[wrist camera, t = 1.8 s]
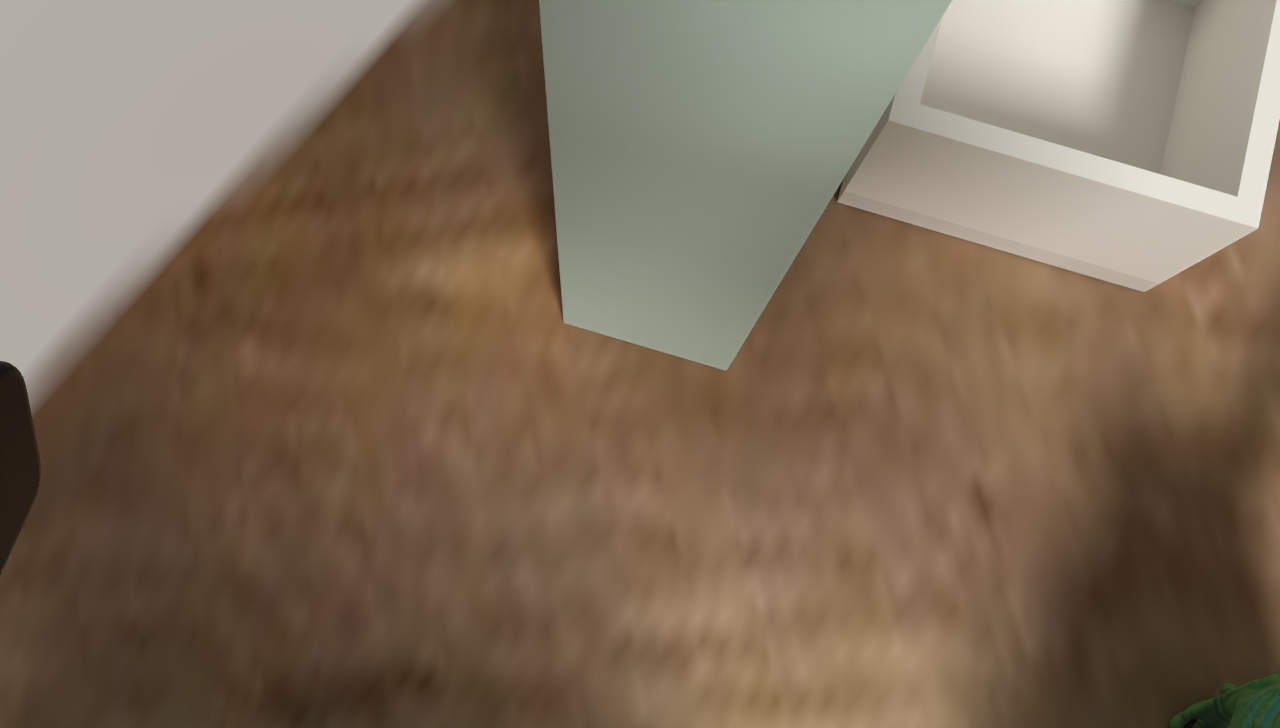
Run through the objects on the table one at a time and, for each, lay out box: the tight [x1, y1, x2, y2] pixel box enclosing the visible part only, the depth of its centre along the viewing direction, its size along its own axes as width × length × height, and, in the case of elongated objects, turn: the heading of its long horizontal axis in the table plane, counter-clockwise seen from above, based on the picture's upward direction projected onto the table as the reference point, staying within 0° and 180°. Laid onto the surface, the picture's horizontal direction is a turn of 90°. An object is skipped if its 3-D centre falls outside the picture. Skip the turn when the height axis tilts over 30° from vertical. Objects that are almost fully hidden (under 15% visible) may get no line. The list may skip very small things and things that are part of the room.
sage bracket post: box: [539, 0, 952, 371], centre depth 15 cm, size 3×3×14 cm
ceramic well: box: [837, 0, 1280, 292], centre depth 21 cm, size 6×6×4 cm
